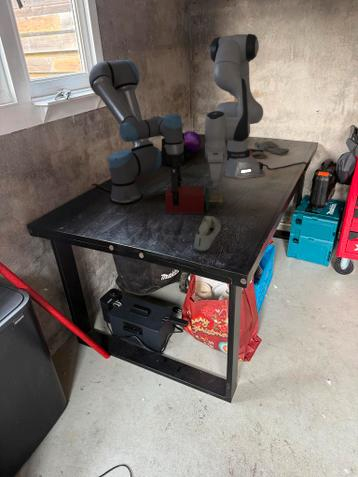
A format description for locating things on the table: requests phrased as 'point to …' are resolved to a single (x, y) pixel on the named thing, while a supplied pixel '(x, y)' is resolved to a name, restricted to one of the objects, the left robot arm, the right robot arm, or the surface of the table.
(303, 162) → the right robot arm
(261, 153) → the pair of gloves
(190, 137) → the decorative orb
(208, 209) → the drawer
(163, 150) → the handbag
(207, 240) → the ballet flat
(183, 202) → the dark red block
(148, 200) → the table surface
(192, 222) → the table surface
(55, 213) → the table surface
